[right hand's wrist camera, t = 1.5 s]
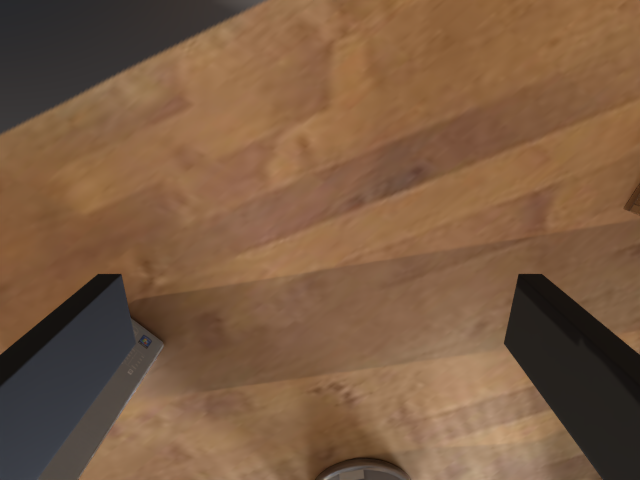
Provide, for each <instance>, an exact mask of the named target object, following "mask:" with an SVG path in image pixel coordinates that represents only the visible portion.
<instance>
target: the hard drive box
mask: <svg viewBox="0 0 640 480" xmlns="http://www.w3.org/2000/svg"><path fill="white" fill-rule="evenodd" d="M131 322H132V327H133V331H134V336H135V341H136V344H135V346H134V347H133V348H132V350H131V351H130V353H129V354H128V355H127V357H126V358H125V359H124V361H123V362H122V364H121V365H120V366H119V368H118V369H117V370H116V372H115V373H114V375H113V376H112V377H111V379H110V380H109V381H108V383H107V384H106V385H105V387H104V388H103V390H102V391H101V392H100V394H99V395H98V396H97V398H96V399H95V401H94V402H93V403H92V405H91V406H90V407H89V409H88V410H87V412H86V413H85V414H84V416H83V417H82V418H81V420H80V421H79V423H78V424H77V425H76V427H75V428H74V429H73V431H72V432H71V434H70V435H69V436H68V438H67V439H66V440H65V442H64V443H63V445H62V446H61V447H60V449H59V450H58V451H57V453H56V454H55V456H54V457H53V458H52V460H51V461H50V462H49V464H48V465H47V467H46V468H45V469H44V471H43V472H42V473H41V475H40V476H39V478H38V479H37V480H78V479H79V477H80V476H81V474H82V473H83V471H84V469H85V468H86V466H87V465H88V463H89V462H90V460H91V459H92V457H93V456H94V454H95V452H96V451H97V449H98V448H99V446H100V445H101V443H102V442H103V440H104V438H105V437H106V435H107V434H108V432H109V431H110V429H111V428H112V426H113V424H114V423H115V421H116V420H117V418H118V417H119V415H120V414H121V412H122V411H123V409H124V407H125V406H126V404H127V403H128V401H129V400H130V398H131V397H132V395H133V394H134V392H135V391H136V389H137V387H138V386H139V384H140V383H141V381H142V380H143V378H144V377H145V375H146V373H147V372H148V370H149V369H150V367H151V366H152V364H153V363H154V361H155V360H156V358H157V356H158V355H159V353H160V352H161V350H162V348H163V347H164V344H163V342H162V341H161V340H159V339H158V338H157V337H156V336H154V335H153V334H151V333H150V332H149V331H147V330H146V329H145V328H143V327H142V326H141V325H140V324H138V323H137V322H136V321H134V320H133V319H132V318H131Z"/></svg>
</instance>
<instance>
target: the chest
mask: <svg viewBox="0 0 640 480" xmlns="http://www.w3.org/2000/svg"><path fill="white" fill-rule="evenodd" d="M624 209H625V210H628V211H630V212H633V213H635V214H638V215H640V184H639V186H638V187H637V189H636V190H635V192H634V193H633V195H632V196H631V198H630V199H629V201H628V202H627V204H626V206H625V207H624Z"/></svg>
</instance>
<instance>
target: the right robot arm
mask: <svg viewBox="0 0 640 480" xmlns="http://www.w3.org/2000/svg"><path fill="white" fill-rule="evenodd" d="M135 344H136V341H135V336H134V331H133V327H132V322H131V317H130V313H129V308H128V303H127V298H126V294H125V289H124V284H123V280H122V275H121V274H98V275H96V276H95V277H94V278H93V279H92V280H90V281H89V282H88V283H87V284H86V285H84V286H83V287H82V288H81V289H79V290H78V291H77V292H76V293H75V294H73V295H72V296H71V297H70V298H69V299H67V300H66V301H65V302H64V303H63V304H61V305H60V306H59V307H58V308H57V309H55V310H54V311H53V312H52V313H50V314H49V315H48V316H47V317H46V318H44V319H43V320H42V321H41V322H40V323H38V324H37V325H36V326H35V327H34V328H32V329H31V330H30V331H29V332H27V333H26V334H25V335H24V336H23V337H21V338H20V339H19V340H18V341H17V342H15V343H14V344H13V345H12V346H11V347H9V348H8V349H7V350H6V351H4V352H3V353H2V354H1V355H0V480H37V479H38V478H39V476H40V475H41V473H42V472H43V471H44V469H45V468H46V467H47V465H48V464H49V462H50V461H51V460H52V458H53V457H54V456H55V454H56V453H57V451H58V450H59V449H60V447H61V446H62V445H63V443H64V442H65V440H66V439H67V438H68V436H69V435H70V434H71V432H72V431H73V429H74V428H75V427H76V425H77V424H78V423H79V421H80V420H81V418H82V417H83V416H84V414H85V413H86V412H87V410H88V409H89V407H90V406H91V405H92V403H93V402H94V401H95V399H96V398H97V396H98V395H99V394H100V392H101V391H102V390H103V388H104V387H105V385H106V384H107V383H108V381H109V380H110V379H111V377H112V376H113V375H114V373H115V372H116V370H117V369H118V368H119V366H120V365H121V364H122V362H123V361H124V359H125V358H126V357H127V355H128V354H129V353H130V351H131V350H132V348H133V347H134V346H135ZM504 344H505V346H506V347H507V348H508V350H509V351H510V353H511V354H512V355H513V357H514V358H515V359H516V361H517V362H518V364H519V365H520V366H521V368H522V369H523V370H524V372H525V373H526V375H527V376H528V377H529V379H530V380H531V381H532V383H533V384H534V385H535V387H536V388H537V390H538V391H539V392H540V394H541V395H542V396H543V398H544V399H545V401H546V402H547V403H548V405H549V406H550V407H551V409H552V410H553V412H554V413H555V414H556V416H557V417H558V418H559V420H560V421H561V423H562V424H563V425H564V427H565V428H566V429H567V431H568V432H569V434H570V435H571V436H572V438H573V439H574V440H575V442H576V443H577V445H578V446H579V447H580V449H581V450H582V451H583V453H584V454H585V456H586V457H587V458H588V460H589V461H590V462H591V464H592V465H593V467H594V468H595V469H596V471H597V472H598V473H599V475H600V476H601V478H602V479H603V480H640V355H639V354H638V353H637V352H636V351H634V350H633V349H632V348H631V347H629V346H628V345H627V344H626V343H625V342H623V341H622V340H621V339H620V338H619V337H617V336H616V335H615V334H614V333H613V332H611V331H610V330H609V329H608V328H606V327H605V326H604V325H603V324H602V323H600V322H599V321H598V320H597V319H596V318H594V317H593V316H592V315H591V314H590V313H588V312H587V311H586V310H585V309H583V308H582V307H581V306H580V305H579V304H577V303H576V302H575V301H574V300H573V299H571V298H570V297H569V296H568V295H567V294H565V293H564V292H563V291H562V290H561V289H559V288H558V287H557V286H556V285H554V284H553V283H552V282H551V281H550V280H548V279H547V278H546V277H545V276H544V275H542V274H519V275H518V280H517V284H516V289H515V294H514V298H513V303H512V308H511V313H510V317H509V322H508V327H507V331H506V336H505V341H504ZM315 480H411V479H410V477H409V476H408V475H407V474H406V473H405V472H404V471H403V470H401V469H400V468H398V467H397V466H395V465H393V464H390V463H388V462H384V461H381V460H375V459H353V460H348V461H344V462H341V463H338V464H335V465H333V466H331V467H329V468H328V469H326V470H324V471H323V472H322V473H321V474H320V475H319V476H318V477H317V478H316V479H315Z"/></svg>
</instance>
